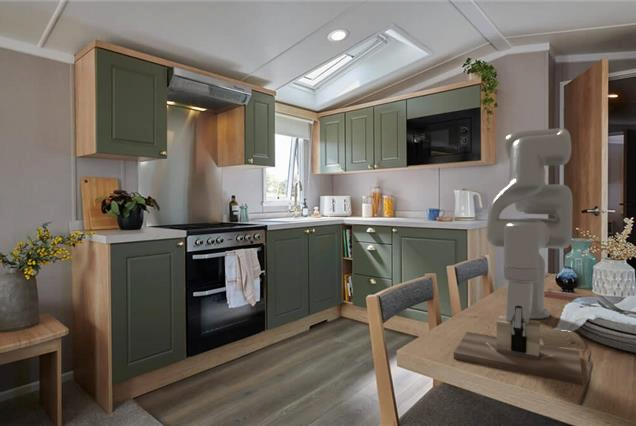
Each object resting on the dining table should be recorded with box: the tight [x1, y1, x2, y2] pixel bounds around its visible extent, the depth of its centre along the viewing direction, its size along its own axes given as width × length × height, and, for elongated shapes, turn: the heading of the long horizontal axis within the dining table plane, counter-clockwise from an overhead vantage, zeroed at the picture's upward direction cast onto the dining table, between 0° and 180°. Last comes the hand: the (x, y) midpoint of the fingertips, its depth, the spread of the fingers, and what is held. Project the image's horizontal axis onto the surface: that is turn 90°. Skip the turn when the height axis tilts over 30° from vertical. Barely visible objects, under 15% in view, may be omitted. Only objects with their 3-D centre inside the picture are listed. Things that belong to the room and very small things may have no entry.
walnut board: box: [453, 331, 583, 386], centre depth 95 cm, size 16×26×2 cm, turn 58°
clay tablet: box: [540, 327, 587, 350], centre depth 106 cm, size 14×10×3 cm
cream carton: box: [496, 315, 541, 359], centre depth 94 cm, size 5×9×8 cm, turn 59°
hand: (519, 346), depth 94 cm, fingers closed on cream carton, 5 cm apart
